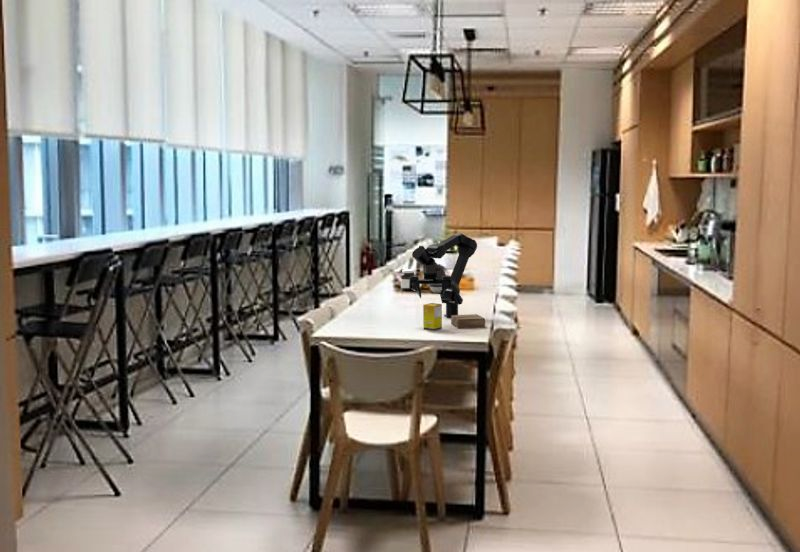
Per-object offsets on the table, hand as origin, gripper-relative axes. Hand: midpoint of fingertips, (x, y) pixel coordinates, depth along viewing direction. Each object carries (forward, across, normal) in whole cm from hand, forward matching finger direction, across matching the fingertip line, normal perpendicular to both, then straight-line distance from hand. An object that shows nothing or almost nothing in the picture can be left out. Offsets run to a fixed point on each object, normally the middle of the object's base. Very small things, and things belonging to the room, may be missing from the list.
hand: (431, 297), depth 404 cm
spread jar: (-75, -3, +94) cm, 120 cm away
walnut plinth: (+9, +16, +9) cm, 21 cm away
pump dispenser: (-68, +12, +87) cm, 111 cm away
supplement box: (+14, 0, +4) cm, 15 cm away
